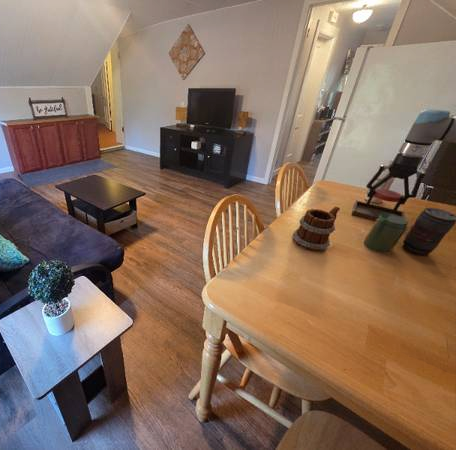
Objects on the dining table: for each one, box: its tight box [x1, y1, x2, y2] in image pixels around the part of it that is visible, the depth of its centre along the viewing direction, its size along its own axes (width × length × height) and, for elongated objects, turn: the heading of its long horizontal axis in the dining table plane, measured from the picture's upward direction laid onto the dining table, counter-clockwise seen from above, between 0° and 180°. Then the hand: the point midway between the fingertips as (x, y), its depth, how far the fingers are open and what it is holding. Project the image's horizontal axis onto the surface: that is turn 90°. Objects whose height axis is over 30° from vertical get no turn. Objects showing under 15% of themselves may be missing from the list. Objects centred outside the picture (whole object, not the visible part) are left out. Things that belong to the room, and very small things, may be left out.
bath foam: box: [364, 158, 396, 204], centre depth 114 cm, size 7×7×20 cm
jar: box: [363, 213, 409, 254], centre depth 85 cm, size 8×8×12 cm
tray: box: [351, 200, 406, 222], centre depth 106 cm, size 17×13×2 cm
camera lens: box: [401, 207, 456, 257], centre depth 82 cm, size 8×8×15 cm
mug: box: [292, 206, 341, 252], centre depth 86 cm, size 12×14×15 cm
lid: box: [374, 189, 403, 203], centre depth 102 cm, size 9×9×2 cm
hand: (380, 207), depth 105 cm, fingers closed on lid, 8 cm apart
